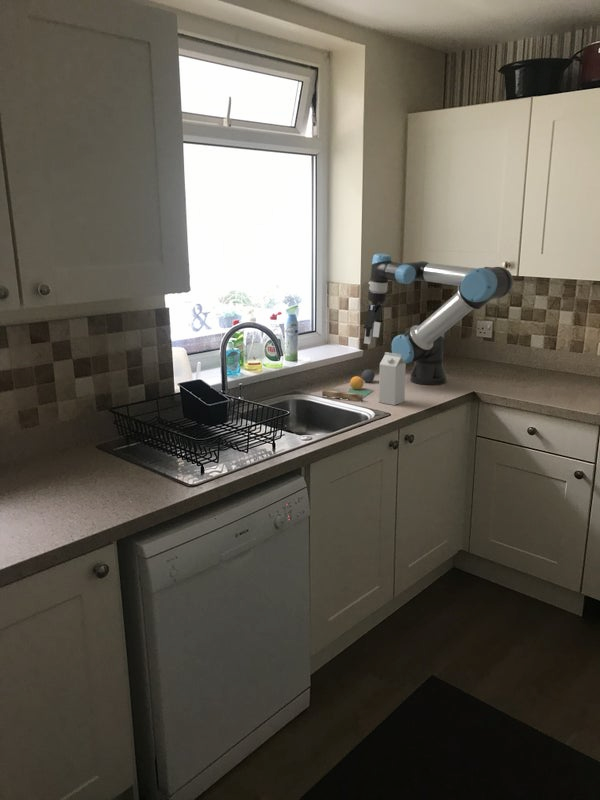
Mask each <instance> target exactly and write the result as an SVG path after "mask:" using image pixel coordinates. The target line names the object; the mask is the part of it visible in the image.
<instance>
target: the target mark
mask: <svg viewBox="0 0 600 800" xmlns="http://www.w3.org/2000/svg"><path fill="white" fill-rule="evenodd" d="M349 388H350V387H349ZM373 391H374V390H371V389H363V388H361V389H358V390H355V389H353V388H352V387H351V388H350V389H349V391H348V393H357V394H363V399H364V398H366V396H368V395H370V394H371V393H372V392H373Z"/></svg>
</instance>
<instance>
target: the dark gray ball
mask: <svg viewBox="0 0 600 800" xmlns="http://www.w3.org/2000/svg"><path fill="white" fill-rule="evenodd" d="M375 377H376V376H375V372H374V371H373V370H372V369H365V370H364V371H362V373H361V378H362V379H363V382H365V383H371V382H373V380H374V379H375Z"/></svg>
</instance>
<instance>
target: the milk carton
mask: <svg viewBox="0 0 600 800" xmlns="http://www.w3.org/2000/svg"><path fill="white" fill-rule="evenodd" d="M406 365H407V363H405V361H404V360H403V359H402V357H401V354H396V353H392V352H387V351H385V352H384V355H383V358H382V359H381V361H380V362H379V376H378V377H379V378H378V379H379V381H378V382H379V383H378V384H379V385H378V387H379V388H378V402H379V403H381V404H385V405H386V404H387V405H392V406H397V405H398V404H401V403H403V402H405V397H406V395H405V394H406Z"/></svg>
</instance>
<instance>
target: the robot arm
mask: <svg viewBox="0 0 600 800" xmlns="http://www.w3.org/2000/svg"><path fill="white" fill-rule="evenodd" d="M371 261H372V262H371V269H370V270H371V271H370V277H369V278H370V279H369V280H370V281H369V282H367V284H368V285H369V287H368V294H367V300H368V301H369V302H371V304H369V305H368V310H367V314H366V319H365V323H364V326H363V329H365V332H364V338H363V344H366V345H371V342H372V337H373V338H379V337H380V329H381V323H384V320H383V313H384V312H383V310H384V309H383V305H384V303H385V302H386V300H387V292H388V285H389V284H388V283H389V281H392V282H396V283H400V284H404V285H410V284H411V283H412V282H413V281H420V282H421V281H422V282H430V283H436V284H444V285H451V286H458V287H457V292H456V293H455V294H453V295H452V297H450V298H449V299H448V300H446V301H445V302H444V303H443V304H442V305H441V306H440V307H439V308H438V309H436V310H435V311H434V312H433V313H432V314H431V315H429V317H428V318H426V319H425V320H424V321H422V322H421V323H420V324H419V325H417V324H416V325H415V324H414V325H413V326H411V327H410V328H409V329H408V330H407V331H406V332H405V333H402V334H398V335H396V336H394V337H393V339H392V341H391V353H396V354H401V357H402V359H403V360H404V361H405V363H406V364H410V363H412V362H414V365H413V367H412V369H411V373H410V375H409V378H410V382H412V383H414V384H419V385H426V386H427V385H428V386H429V385H430V386H434V385H435V386H436V385H442V384H445V383H446V382H447V374H446V370H445V368H444V348H445V347H444V345H445V344H444V343H445V333H446V332H447V331H448V330H450V329H451V328H452V327H453V326H454V325H456V324H457V323H458V322H459V321H460V320H462V319H463V318H464V317H465V316H467V314H470V312H471V311H473V310H475V311H476V310H480V309H482V308H483V307H484V306H485V305H487V303H489V302H490V301H491V300H495V299H496V300H497V299H500V298H503V297H506V296H507V295H508V294H509V293H510V292H511V291H512V288H513V286H514V277H513V274H512V273H511V272H510V271H509V270H508V269H507V268H505V267H501V266H493V267H492V266H484V267H478V268H477V267H469V266H467V267H466V266H458V265H457V266H456V265H450V264H449V265H448V264H440V263H434V262H433V263H431V262H430V263H429V262H428V261H415V262H414V261H413V262H402V263H401V262H397V261H396V262H395V261H393V260H392V256H391V255H390V254H387V253H375V254H374V255H373V256H372V260H371Z"/></svg>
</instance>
